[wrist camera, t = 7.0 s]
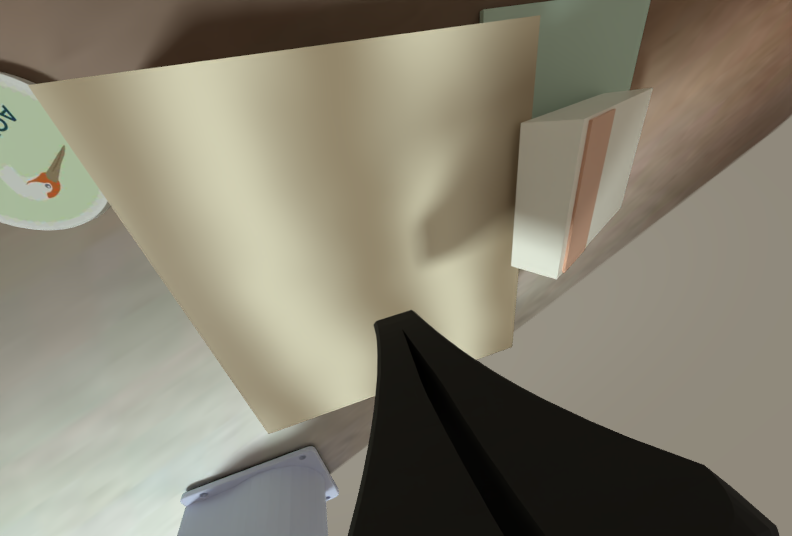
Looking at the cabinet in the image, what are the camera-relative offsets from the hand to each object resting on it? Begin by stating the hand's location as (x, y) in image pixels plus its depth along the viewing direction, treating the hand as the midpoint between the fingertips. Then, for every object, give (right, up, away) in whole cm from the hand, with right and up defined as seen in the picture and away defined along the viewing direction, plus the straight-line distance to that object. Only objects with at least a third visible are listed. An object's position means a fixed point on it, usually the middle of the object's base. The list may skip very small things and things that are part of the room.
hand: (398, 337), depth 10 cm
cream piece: (-2, +4, +6) cm, 7 cm away
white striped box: (+8, +7, +5) cm, 12 cm away
